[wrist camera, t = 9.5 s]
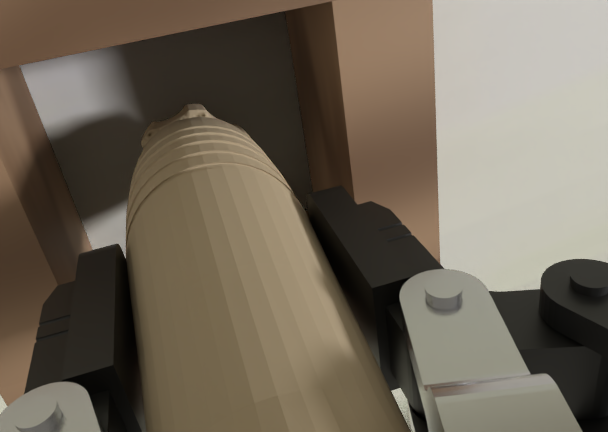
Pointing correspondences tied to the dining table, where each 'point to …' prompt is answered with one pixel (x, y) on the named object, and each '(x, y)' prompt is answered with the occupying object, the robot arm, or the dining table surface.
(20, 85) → the collar block
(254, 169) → the handle
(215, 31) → the dining table surface
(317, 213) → the robot arm
